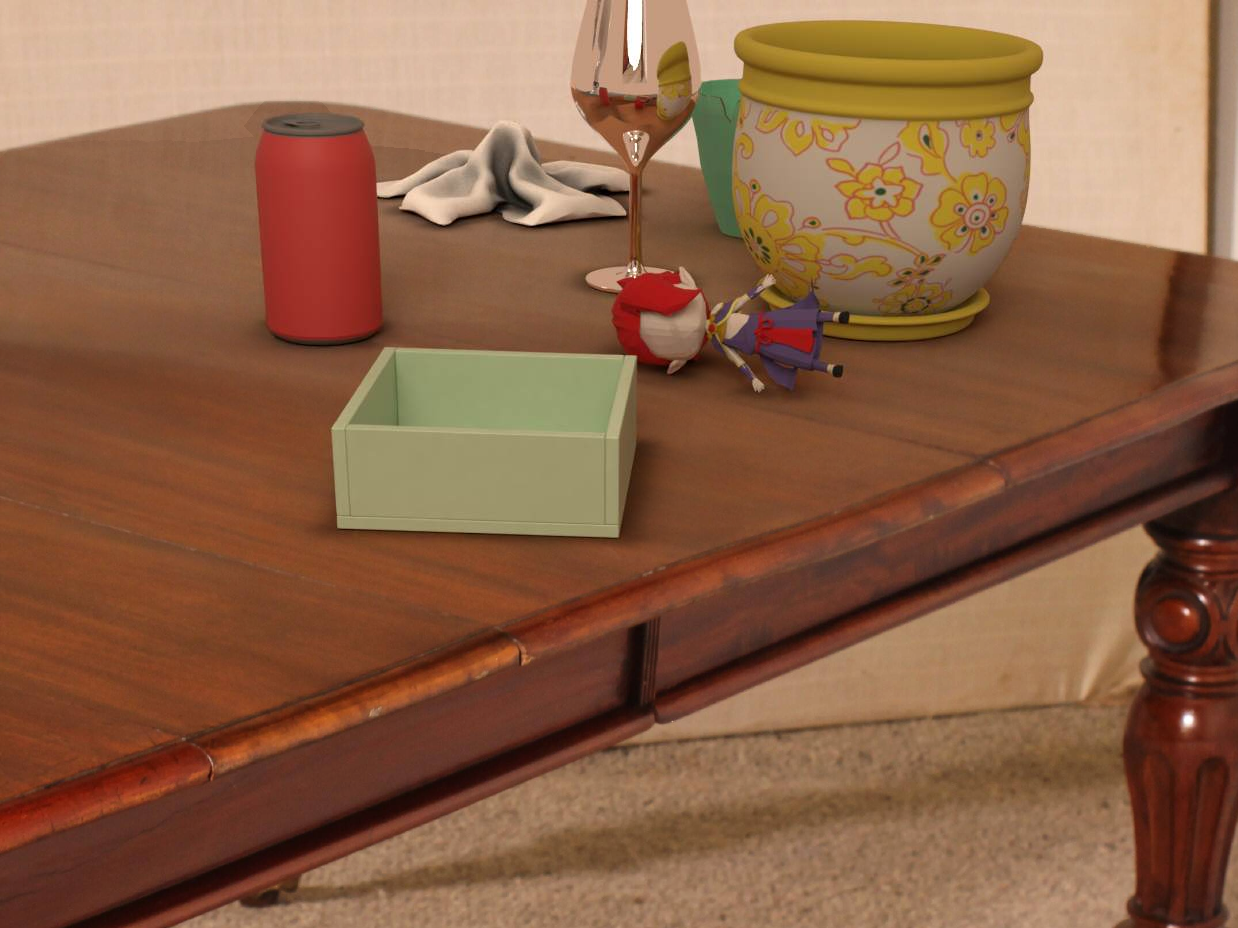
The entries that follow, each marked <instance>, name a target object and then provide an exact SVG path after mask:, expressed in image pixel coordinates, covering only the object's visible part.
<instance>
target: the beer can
mask: <svg viewBox="0 0 1238 928" xmlns="http://www.w3.org/2000/svg"><path fill="white" fill-rule="evenodd" d="M260 126H261V128H262V132H261V135H260V138H259V142H258V145H257V148H256V152H255V157H254V158H255V159H254V173H255V188H256V199H257V200H256V203H257V213H258V215H257V216H258V227H259V228H258V229H259V242H260V243H259V244H260V254H261V255H260V256H261V264H262V265H261V268H262V282H263V293H264V294H263V295H264V309H265V320H266V321H265V323H266V325H267V328H268V329H269V330H270V331H271V333H272V334H273V335H274V336H275V337H277V338H279V339H281V340H283V341H287V342H289V343H295V344H300V345H306V346H307V345H308V346H337V345H345V344H350V343H351V344H352V343H356V342H359V341H362V340H365V339H368V338H370V337H371V336H373V335H374V334H376V333H377V332H379V330H380V329H381V327H382V324H383V321H384V311H383V310H384V309H383V288H382V272H381V271H382V269H381V268H382V267H381V247H380V228H379V227H380V226H379V205H378V196H377V183H378V182H377V167H376V165H377V164H376V163H377V162H376V158H375V155H374V151H373V148H372V146H371V143H370V141H369V138H368V136H367V134H366V132H365V129H364V127H365V122H364V120H362V119H361V118H359V117H356V116H352V115H347V114H342V113H341V114H340V113H327V112H300V113H299V112H298V113H286V114H278V115H274V116H270V117H267V118H265V119H264V120H263V121H262V122H261V124H260Z"/></svg>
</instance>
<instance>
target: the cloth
mask: <svg viewBox="0 0 1238 928" xmlns="http://www.w3.org/2000/svg"><path fill="white" fill-rule="evenodd" d="M376 183H377V198H378V197H379V198H391V197H394V196H404V195H405V196H404V197H403V200H402V203H401V206H399V207H398V208H399V210H403V211H409V212H412V213H415V214H417V215H419V216H421V217H423V218H425V219H426V220H429V221H430V222H432V223H434V224H437V225H442V226H447V225H450V224H451V223H452V222H454V221H455V220H457V219H458V218H464V217H470V216H475V215H480V214H486V213H490V212H492V211H493V212H495V213H499V214H502V218H503V219H504V220H505V221H507V222H510V223H514V224H520V225H524V226H529V227H532V226H537V225H543V224H548V223H549V224H550V223H557V222H563V221H571V220H580V219H581V220H582V219H590V218H601V217H613V216H614V217H615V216H616V217H623V216H624V217H625V216H627V211H626V210H625V208H624V207H623V206H622V205H621V204H620V203H619V202H618V201H617V200H615V199H613V198H612V197H609V196H606V195H603V194H600V191H601V190H608V191H609V192H627V191H628V192H629V172H626V171H624V170H623V169H620V168H618V167H614V166H613V167H612V166H606V165H602V164H594V163H587V162H580V161H571V160H565V159H563V160H557V161H550V162H545V163H542V155H541V152H540V151H539V148H538V147H537V145H536V143H535V140H534V137H533V135H532V133H531V130H530V129H529V128H527V127H526V126H524V125H522V124H520V123H519V122H517V121H513V120H509V119H500V120H499V121H497V122H496V123H495V124H494V125H493V127H492V128H491V129H490V131H489V132H487V134H486V135H485V136H484V138H483V139H482V140H481V141H480V143H479V144H478V145H477V147H475V149H474V150H472V149H460V150H456V151H453V152H451V153H448V154H446V155H444V156H441V157H439V158H437V159H434V160H433V161H430V162H429V163H427V164H426V165H424V166H423V167H422V168H420V169H419V170H418V171H416V172H415V173H413V174H411V175H408V176H407V177H405V178H403V179H397V180H389V181H381V182H376Z"/></svg>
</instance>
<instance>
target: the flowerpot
mask: <svg viewBox="0 0 1238 928" xmlns="http://www.w3.org/2000/svg"><path fill="white" fill-rule="evenodd" d="M733 50H734V53H735V55H736V57H737V58H738V59H739V60H740V61H742V62H743V67H742V68H743V69H742V77H741V78H739V79H740V81H739V83H738V88H739V91H740V92H741V102H740V109H739V115H738V120H737V125H736V131H735V138H734V147H733V160H732V193H733V203H734V209H735V214H736V218H737V222H738V225H739V228H740V231H741V234H742V237H743V238H742V239H743V241H744V243H745V246H746V248H747V250H748V251H749V253H750V255H751V256H752V259H753V260H754V262H755V263H756V265H757V266H758V267H759V269H760V270H761V272H762V273H763V274H764V276H763V277H761V278H760V279H759V280H758V282H757V284H756V286H758V285H760V284H762V283H763V281H764V279H765V278H766V276H767V275H768V274H769V277H770V275H771V274H772V277H774V278H773V280H774V279H776V280H775V281H774V282H776V283H775V284H773V285H771V286H769V287H767V288H766V289H765V290H763V291H762V292H761V293H760V294H759V295H758V296H759V297H760V298H761V299H762V300H763V301H765V302H766V303H768V306H769V309H770V311H773V310H778V309H782V308H785V307H789V306H792V305H793V304H795V303H797V302H799V301H801V300H802V299H804V298H805V297H806V296H807V295H808V294H809V293H810V292H811V291H812V288H811V278H812V280H813V286H814V294H815V296H816V297H817V299H818V301H819V302H820V304H819V306H818V308H816V309H814V310H820V311H821V312H833V313H837V312H844V311H849V314H850V317H849V323H848V324H842V323H838V322H823V324H824V326H823V336H827V337H833V338H838V339H840V338H841V339H847V340H848V339H849V340H856V341H857V340H858V341H869V342H905V341H920V340H928V339H929V340H930V339H935V338H940V337H945V336H949V335H953V334H956V333H957V332H960V331H962V330H964V329H966V328H967V327H968V326H970V324H972V322H973V320H974V319H975V316H976V315H977V314H979V313H981V312H982V311H983V310H985V309H986V308H987V307H988V306H989V304H990V299H991V298H990V294H989V292H988V291H987V290H986V289H985V288H984V287H983V286H985V284H986V283H988V281H989V280H991V278H992V277H993V276H994V275H995V274H996V272H997V271H998V270H999V269H1000V267H1001V266H1002V264H1003V263H1004V261H1006V258H1007V257H1008V255H1009V253H1010V251H1011V250H1012V248H1013V246H1014V244H1015V242H1016V240H1017V237H1018V235H1019V232H1020V230H1021V228H1022V224H1023V221H1024V217H1025V213H1026V209H1027V204H1028V197H1029V189H1030V179H1031V162H1032V145H1031V129H1030V127H1031V126H1030V125H1031V124H1030V107H1031V106H1032V105H1033V103H1034V100H1035V96H1034V94H1033V92H1032V91H1031V82H1032V75H1034V74H1035V73H1037V72H1038V71H1039V70H1040V69H1041V67H1042V66H1043V62H1044V51H1043V48H1042V47H1041V46H1040V45H1039V44H1038V43H1036V42H1034V41H1032V40H1030V39H1027V38H1025V37H1020V36H1017V35H1013V34H1010V33H1004V32H999V31H995V30H994V31H993V30H987V29H979V28H973V27H965V26H957V25H947V24H938V23H924V22H909V21H891V20H864V19H863V20H862V19H861V20H860V19H859V20H858V19H857V20H856V19H849V20H848V19H831V20H830V19H826V20H820V19H819V20H803V21H802V20H799V21H785V22H774V23H767V24H766V23H765V24H759V25H755V26H750V27H747V28H745V29H742V30H741V31H739V32H738V33H736V35H735V36H734V40H733ZM772 277H771V278H772Z"/></svg>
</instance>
